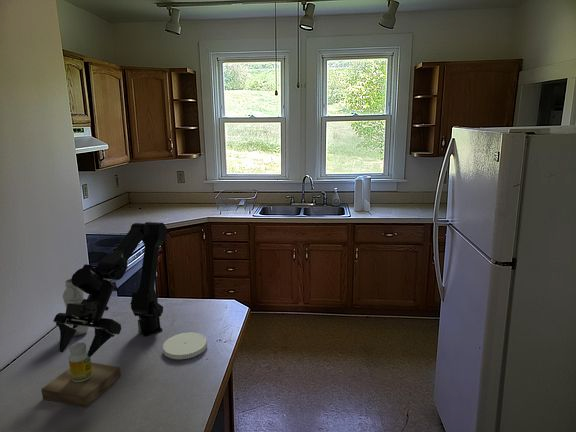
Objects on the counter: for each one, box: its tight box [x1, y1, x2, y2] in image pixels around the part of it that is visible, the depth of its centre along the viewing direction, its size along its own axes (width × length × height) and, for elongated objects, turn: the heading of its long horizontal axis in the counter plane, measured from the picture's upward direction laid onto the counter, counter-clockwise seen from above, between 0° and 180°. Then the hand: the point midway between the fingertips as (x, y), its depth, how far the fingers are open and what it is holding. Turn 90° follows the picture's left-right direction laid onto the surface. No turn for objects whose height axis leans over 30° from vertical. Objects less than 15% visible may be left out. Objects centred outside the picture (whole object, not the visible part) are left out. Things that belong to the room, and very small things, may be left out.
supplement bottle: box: [67, 342, 93, 382], centre depth 114 cm, size 5×5×10 cm
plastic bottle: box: [62, 278, 89, 337], centre depth 144 cm, size 6×7×20 cm
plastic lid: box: [162, 331, 208, 360], centre depth 134 cm, size 14×14×2 cm
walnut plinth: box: [41, 361, 121, 408], centre depth 116 cm, size 14×14×3 cm
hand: (74, 354), depth 112 cm, fingers open, 9 cm apart
